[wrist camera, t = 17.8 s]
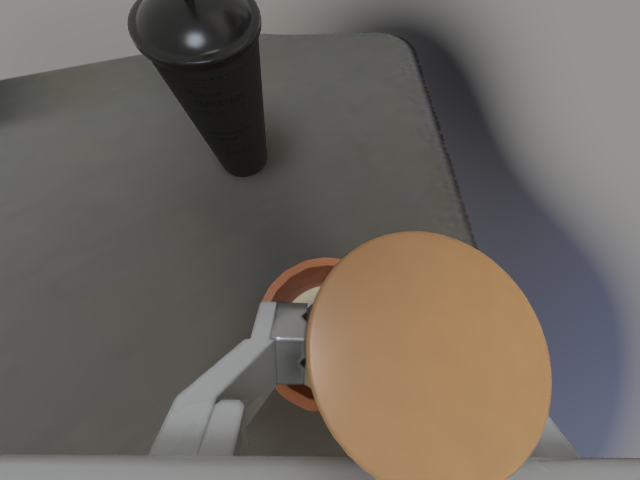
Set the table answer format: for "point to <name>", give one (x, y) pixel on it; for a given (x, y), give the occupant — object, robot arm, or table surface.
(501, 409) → the brush
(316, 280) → the tumbler
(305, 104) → the table surface
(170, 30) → the drinking cup
